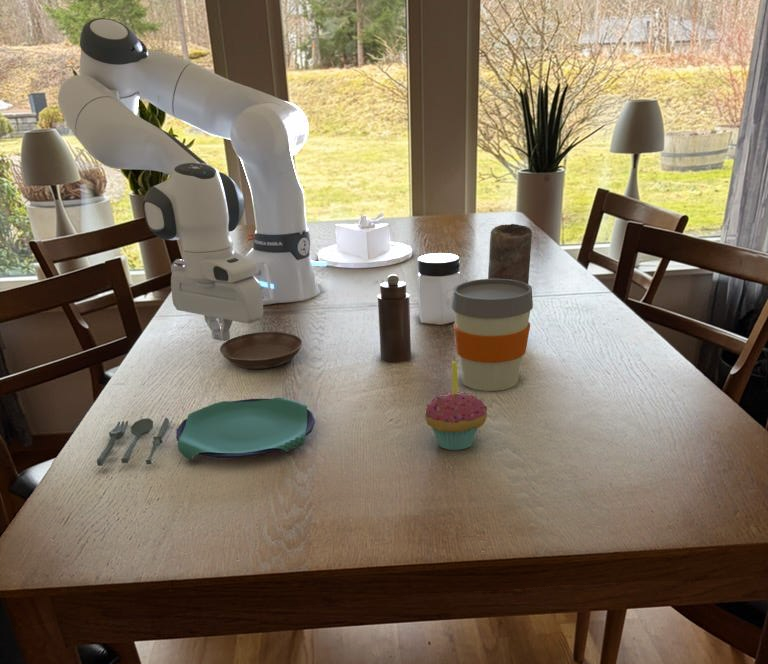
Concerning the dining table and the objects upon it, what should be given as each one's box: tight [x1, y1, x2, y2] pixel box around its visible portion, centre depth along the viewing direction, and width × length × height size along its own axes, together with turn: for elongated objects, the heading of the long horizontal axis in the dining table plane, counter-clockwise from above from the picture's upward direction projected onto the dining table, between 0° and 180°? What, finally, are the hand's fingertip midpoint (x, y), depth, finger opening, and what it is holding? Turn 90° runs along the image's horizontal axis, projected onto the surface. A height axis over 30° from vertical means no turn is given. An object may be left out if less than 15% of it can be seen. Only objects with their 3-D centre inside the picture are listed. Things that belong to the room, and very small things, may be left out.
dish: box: [317, 212, 413, 269], centre depth 206 cm, size 25×25×11 cm
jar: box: [417, 252, 461, 326], centre depth 156 cm, size 9×8×12 cm
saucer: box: [219, 331, 303, 370], centre depth 142 cm, size 15×15×3 cm
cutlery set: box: [96, 396, 316, 467], centre depth 114 cm, size 20×30×2 cm, turn 94°
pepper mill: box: [377, 273, 412, 364], centre depth 137 cm, size 5×5×15 cm
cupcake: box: [424, 355, 488, 451], centre depth 106 cm, size 9×8×12 cm
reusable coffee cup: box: [452, 278, 534, 392], centre depth 125 cm, size 13×13×15 cm
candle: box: [487, 223, 533, 284], centre depth 141 cm, size 8×7×20 cm
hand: (221, 339), depth 147 cm, fingers closed
